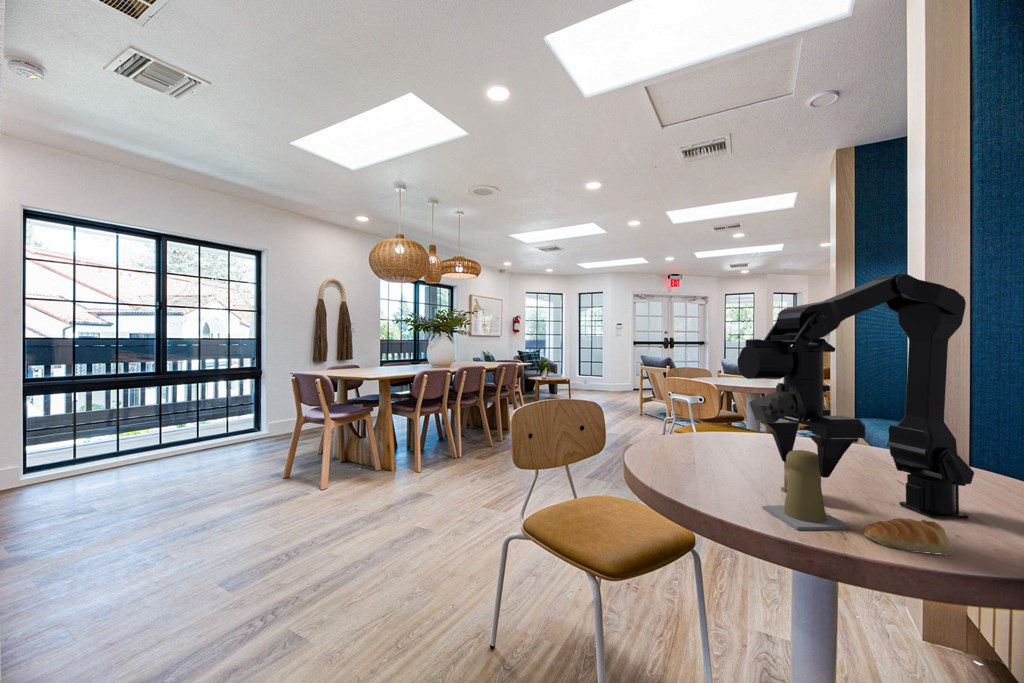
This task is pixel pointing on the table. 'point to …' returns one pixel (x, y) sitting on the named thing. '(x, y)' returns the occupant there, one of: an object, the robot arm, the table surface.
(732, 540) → the table surface
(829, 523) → the coaster
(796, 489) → the olive peg figure
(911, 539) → the pastry
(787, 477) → the screen
